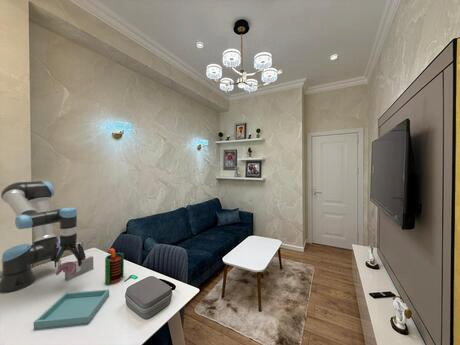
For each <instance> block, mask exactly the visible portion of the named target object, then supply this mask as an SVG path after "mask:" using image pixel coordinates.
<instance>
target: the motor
mask: <svg viewBox="0 0 460 345" xmlns="http://www.w3.org/2000/svg"><path fill="white" fill-rule="evenodd" d="M108 253H109V254H108V255H107V256H106V257H105V261H104V265H105V266H104V268H105V269H104V272H105V275H104V280H105V282H104V284H105V285H106V286H110V285H115V284H118V283H120V282H122V279H123V277H124V275H125V274H124V272H125V270H124V268H125V267H124V266H125V265H124V263H125V262H124V261H125V258H124V256H125V255H124V253H123V252H116V250H115V249H114V248H110V249H108Z"/></svg>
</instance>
